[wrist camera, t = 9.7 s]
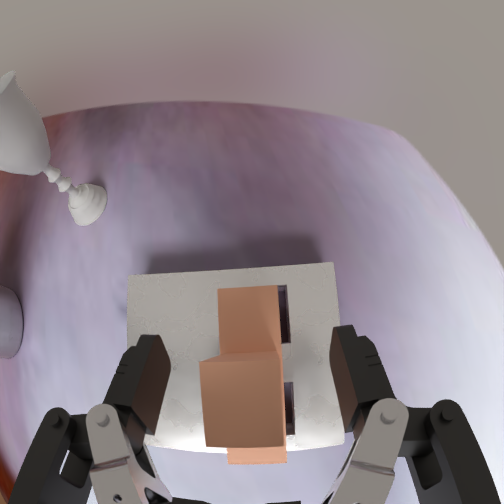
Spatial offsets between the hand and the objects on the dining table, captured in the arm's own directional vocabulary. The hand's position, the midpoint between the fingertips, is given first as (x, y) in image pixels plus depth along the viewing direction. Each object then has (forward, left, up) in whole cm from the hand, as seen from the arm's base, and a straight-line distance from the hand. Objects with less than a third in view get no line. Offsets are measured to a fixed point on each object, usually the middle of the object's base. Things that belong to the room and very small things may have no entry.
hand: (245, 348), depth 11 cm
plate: (-2, -2, -11) cm, 12 cm away
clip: (0, -2, -11) cm, 12 cm away
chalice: (-18, +14, -12) cm, 26 cm away
